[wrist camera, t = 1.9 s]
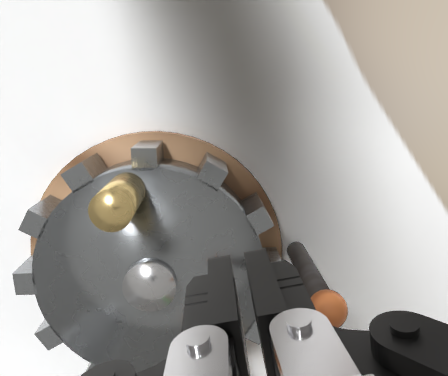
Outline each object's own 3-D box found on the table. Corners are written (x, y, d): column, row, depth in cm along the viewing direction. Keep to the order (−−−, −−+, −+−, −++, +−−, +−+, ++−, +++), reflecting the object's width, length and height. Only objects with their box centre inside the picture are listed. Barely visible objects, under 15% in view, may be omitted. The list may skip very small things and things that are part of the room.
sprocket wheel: (42, 120, 30) (-27, 134, 21) (298, 163, 31) (333, 192, 23) (31, 345, 35) (-29, 430, 26) (251, 371, 36) (264, 459, 28)
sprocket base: (42, 110, 31) (-45, 122, 20) (332, 159, 33) (391, 193, 22) (30, 340, 36) (-43, 444, 26) (279, 370, 38) (306, 478, 28)
